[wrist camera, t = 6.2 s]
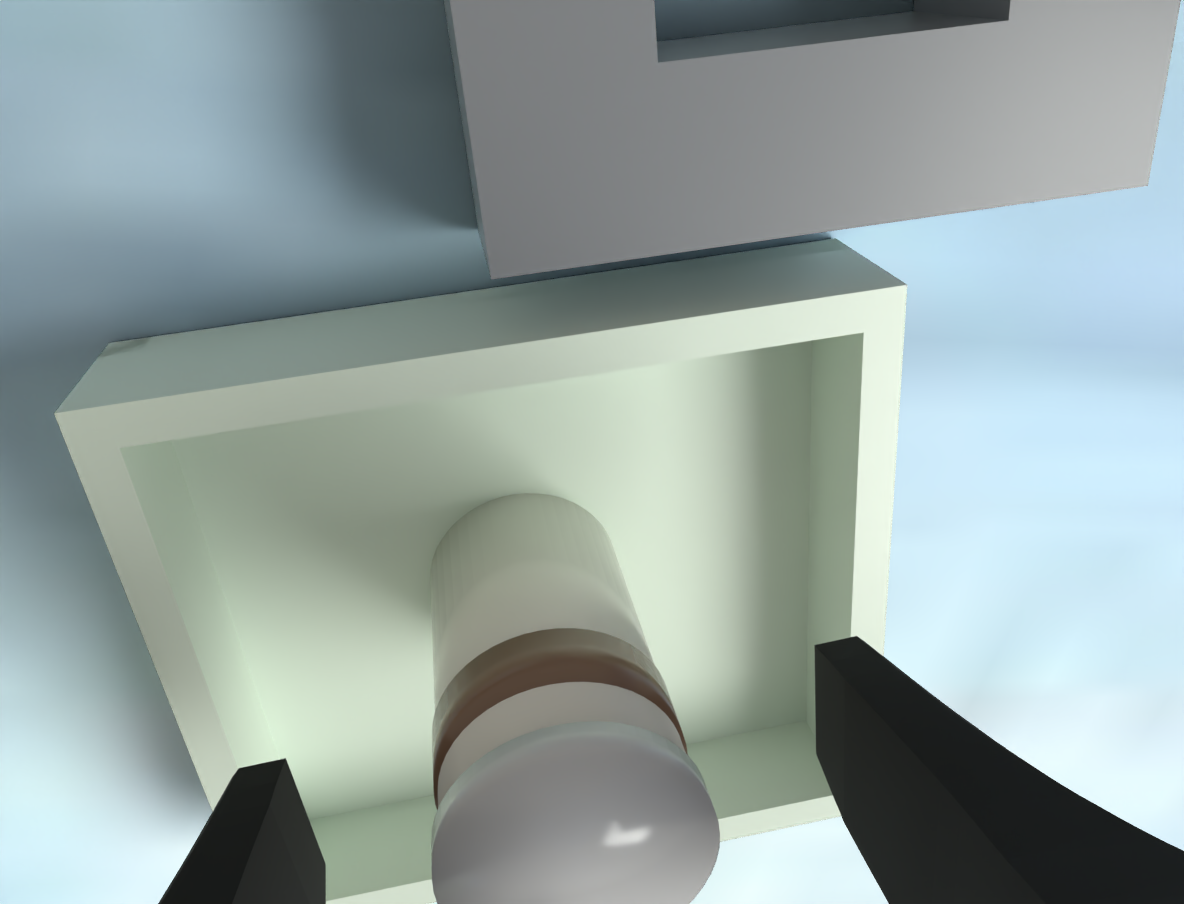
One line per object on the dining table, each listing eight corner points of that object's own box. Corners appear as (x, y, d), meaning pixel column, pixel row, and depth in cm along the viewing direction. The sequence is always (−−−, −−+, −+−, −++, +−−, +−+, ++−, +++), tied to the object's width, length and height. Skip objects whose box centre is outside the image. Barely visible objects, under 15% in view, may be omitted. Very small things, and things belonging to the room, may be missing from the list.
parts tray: (835, 238, 15) (907, 284, 13) (822, 717, 20) (873, 809, 18) (109, 343, 14) (54, 414, 12) (280, 825, 19) (263, 938, 17)
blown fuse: (614, 473, 16) (717, 728, 11) (627, 635, 17) (722, 928, 12) (408, 505, 15) (408, 786, 10) (441, 668, 17) (455, 984, 12)
